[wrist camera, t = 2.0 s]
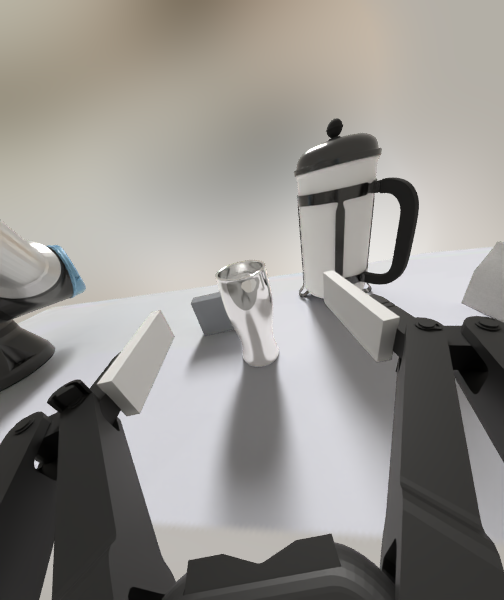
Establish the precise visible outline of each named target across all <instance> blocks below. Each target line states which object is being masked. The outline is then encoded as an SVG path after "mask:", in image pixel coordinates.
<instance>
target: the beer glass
mask: <svg viewBox="0 0 504 600" xmlns="http://www.w3.org/2000/svg"><path fill="white" fill-rule="evenodd" d="M215 277H216V279H217V284H218V288H219V292H220V297H221V300H222V303H223V306H224V309H225V312H226V314H227V316H228V318H229V320H230V322H231V324H232V326H233V327H234V329H235V331H236V333H237V334H238V336H239V338H240V341H241V343H242V351H243V358H244V360H245V362H246V363H247V364H249V365H250V366H253V367H263V366H267V365H269V364H271V363H272V362H274V361H275V360H276V358H277V357H278V354H279V348H278V345H277V343H276V341H275V339H274V335H273V298H272V291H271V287H270V282H269V278H268V275H267V272H266V267H265V263H263V262H262V261H257V260H247V261H241V262H237V263H233V264H231V265H228V266H226V267H224V268H222V269H220V270H219V271H218V272H217V273H216V275H215Z"/></svg>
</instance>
